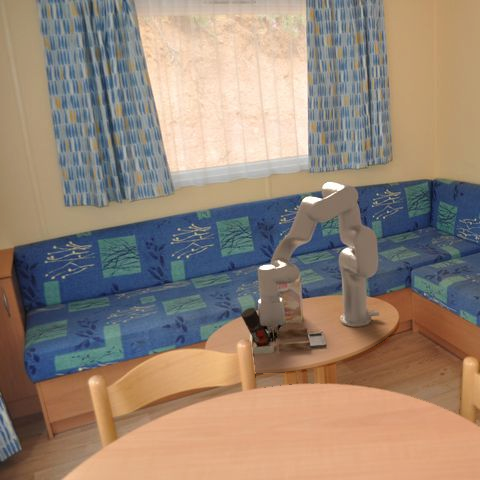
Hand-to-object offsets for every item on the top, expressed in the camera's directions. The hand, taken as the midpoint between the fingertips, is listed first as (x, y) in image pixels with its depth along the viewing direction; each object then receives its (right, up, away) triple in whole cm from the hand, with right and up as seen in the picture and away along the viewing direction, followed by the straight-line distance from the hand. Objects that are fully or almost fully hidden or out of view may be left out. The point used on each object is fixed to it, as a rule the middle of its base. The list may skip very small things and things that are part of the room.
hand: (273, 340), depth 181 cm
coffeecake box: (+7, +4, +21) cm, 22 cm away
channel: (+8, -1, 0) cm, 8 cm away
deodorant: (-4, -2, +1) cm, 4 cm away
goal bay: (-4, -2, +1) cm, 5 cm away
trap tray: (+17, 0, 0) cm, 17 cm away
